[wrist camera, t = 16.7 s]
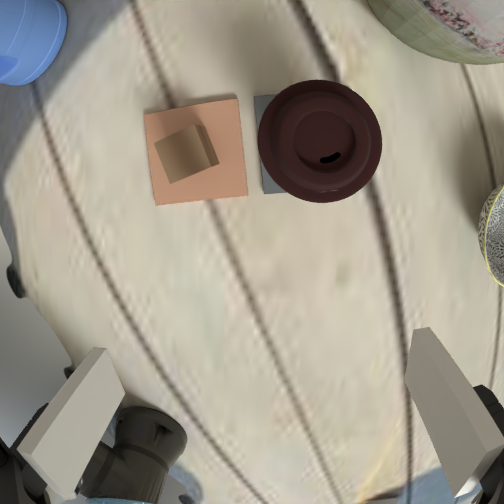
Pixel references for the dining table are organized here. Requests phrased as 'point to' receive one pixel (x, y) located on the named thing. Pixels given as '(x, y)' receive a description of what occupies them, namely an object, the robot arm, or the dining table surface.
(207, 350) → the dining table surface
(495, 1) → the vase
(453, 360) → the robot arm
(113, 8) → the dining table surface
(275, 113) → the coffee cup
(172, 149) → the walnut block
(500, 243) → the bowl
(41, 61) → the water jug
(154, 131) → the terracotta tile
